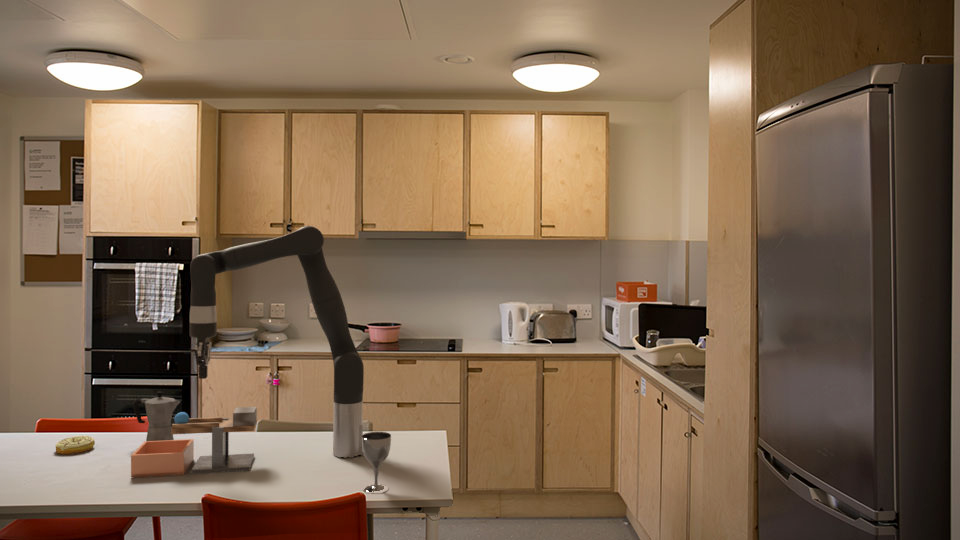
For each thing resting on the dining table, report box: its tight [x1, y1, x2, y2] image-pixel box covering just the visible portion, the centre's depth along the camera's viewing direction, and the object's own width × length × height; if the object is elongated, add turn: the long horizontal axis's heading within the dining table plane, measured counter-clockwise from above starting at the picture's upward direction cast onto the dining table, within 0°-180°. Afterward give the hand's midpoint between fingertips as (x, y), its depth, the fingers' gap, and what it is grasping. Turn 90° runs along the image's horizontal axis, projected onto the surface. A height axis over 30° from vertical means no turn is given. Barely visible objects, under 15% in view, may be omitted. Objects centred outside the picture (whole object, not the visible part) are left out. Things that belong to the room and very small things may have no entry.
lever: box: [171, 406, 258, 435], centre depth 199 cm, size 23×8×6 cm, turn 103°
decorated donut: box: [55, 435, 96, 455], centre depth 213 cm, size 10×11×4 cm
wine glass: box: [362, 431, 392, 493], centre depth 183 cm, size 8×8×15 cm
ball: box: [173, 411, 190, 424], centre depth 197 cm, size 4×4×4 cm
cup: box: [130, 438, 195, 478], centre depth 197 cm, size 14×14×6 cm
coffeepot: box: [132, 390, 181, 441], centre depth 219 cm, size 15×9×18 cm, turn 92°
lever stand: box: [190, 417, 255, 475], centre depth 200 cm, size 16×13×13 cm
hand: (203, 378), depth 198 cm, fingers closed
